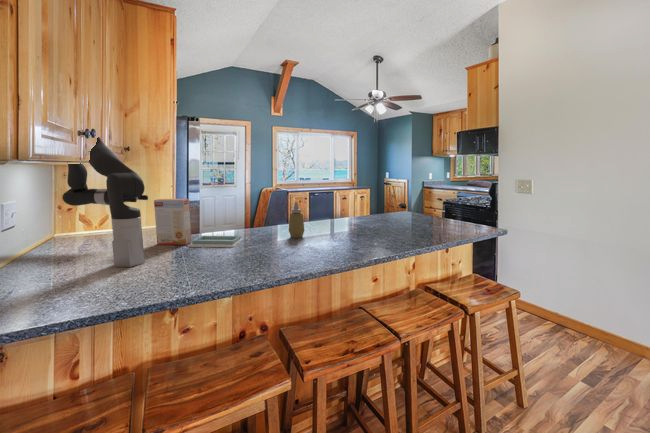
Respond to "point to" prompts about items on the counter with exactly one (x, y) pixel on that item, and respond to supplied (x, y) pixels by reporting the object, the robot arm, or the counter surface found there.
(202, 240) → the docking plate
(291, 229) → the squeeze bottle
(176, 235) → the cracker box
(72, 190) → the robot arm
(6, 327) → the counter surface
